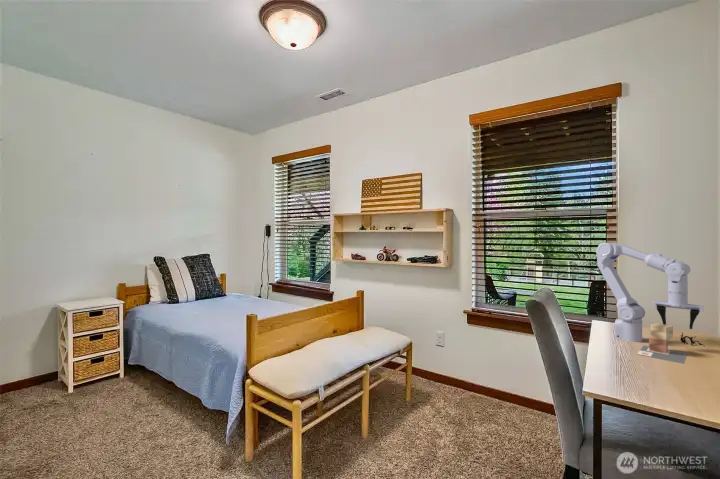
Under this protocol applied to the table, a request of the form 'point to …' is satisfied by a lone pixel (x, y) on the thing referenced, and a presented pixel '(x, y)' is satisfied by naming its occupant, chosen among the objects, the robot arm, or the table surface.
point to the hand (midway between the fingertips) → (677, 326)
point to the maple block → (661, 331)
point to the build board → (663, 355)
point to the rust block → (658, 345)
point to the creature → (690, 340)
